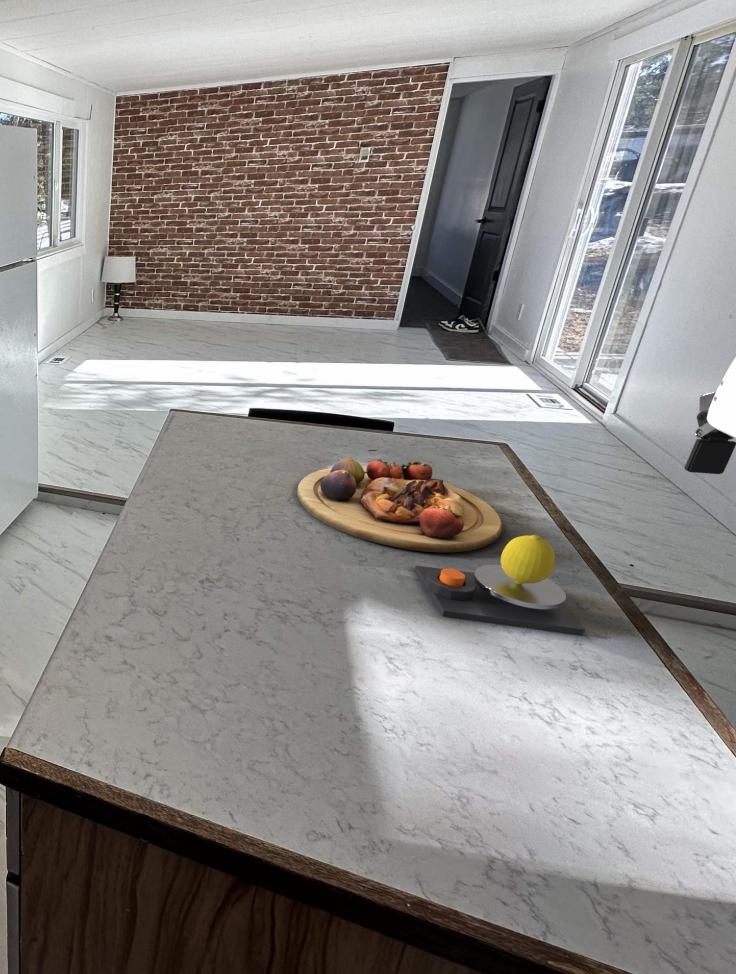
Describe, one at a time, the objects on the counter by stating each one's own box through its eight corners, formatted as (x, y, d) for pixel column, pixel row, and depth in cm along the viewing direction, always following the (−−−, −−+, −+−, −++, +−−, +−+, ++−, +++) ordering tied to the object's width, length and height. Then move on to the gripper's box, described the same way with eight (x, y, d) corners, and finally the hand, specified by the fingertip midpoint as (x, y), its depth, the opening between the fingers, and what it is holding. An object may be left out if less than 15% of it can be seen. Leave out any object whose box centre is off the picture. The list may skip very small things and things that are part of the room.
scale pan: (542, 574, 95) (544, 569, 95) (580, 614, 86) (582, 609, 86) (462, 565, 98) (463, 560, 98) (490, 603, 90) (492, 598, 89)
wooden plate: (536, 568, 102) (553, 523, 99) (312, 543, 112) (321, 501, 109) (458, 483, 130) (468, 446, 127) (284, 469, 140) (290, 434, 137)
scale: (536, 590, 97) (543, 571, 96) (580, 641, 87) (589, 619, 85) (410, 575, 102) (415, 556, 101) (437, 620, 92) (443, 600, 91)
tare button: (458, 578, 96) (461, 569, 95) (465, 589, 93) (468, 580, 93) (436, 575, 97) (438, 567, 96) (443, 586, 94) (445, 577, 94)
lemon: (550, 585, 91) (568, 537, 88) (537, 599, 89) (555, 550, 86) (502, 568, 96) (517, 521, 93) (488, 581, 93) (503, 534, 90)
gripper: (952, 361, 55) (856, 533, 62) (784, 321, 71) (720, 462, 77) (833, 358, 58) (752, 523, 64) (695, 320, 73) (640, 457, 79)
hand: (735, 490), depth 71 cm, fingers open, 9 cm apart
